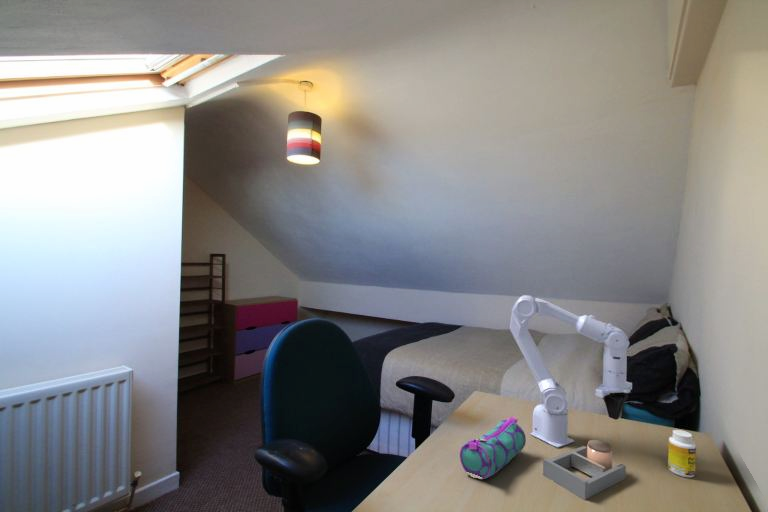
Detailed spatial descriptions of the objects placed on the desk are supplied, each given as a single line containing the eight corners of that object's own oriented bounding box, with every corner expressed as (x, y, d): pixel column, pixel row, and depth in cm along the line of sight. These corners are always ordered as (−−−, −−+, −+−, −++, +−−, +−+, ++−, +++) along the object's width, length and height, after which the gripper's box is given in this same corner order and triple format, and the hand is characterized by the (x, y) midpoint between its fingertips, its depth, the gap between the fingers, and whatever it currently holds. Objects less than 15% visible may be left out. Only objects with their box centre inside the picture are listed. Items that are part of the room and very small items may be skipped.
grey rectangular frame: (543, 474, 96) (543, 459, 96) (583, 457, 105) (583, 443, 105) (584, 499, 87) (585, 482, 87) (625, 478, 95) (625, 462, 95)
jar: (582, 468, 100) (582, 442, 100) (596, 463, 102) (596, 437, 102) (602, 479, 95) (602, 451, 95) (617, 474, 97) (617, 447, 97)
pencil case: (490, 489, 90) (491, 448, 90) (458, 473, 96) (459, 436, 96) (527, 456, 105) (527, 421, 105) (497, 444, 111) (498, 412, 111)
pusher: (570, 465, 100) (571, 452, 100) (573, 464, 100) (573, 451, 100) (602, 482, 92) (603, 468, 92) (605, 481, 93) (605, 467, 93)
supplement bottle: (690, 481, 95) (691, 440, 95) (664, 470, 99) (665, 431, 99) (698, 474, 98) (699, 434, 98) (673, 464, 102) (673, 426, 102)
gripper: (613, 378, 102) (612, 429, 102) (643, 370, 109) (642, 418, 109) (588, 370, 108) (587, 418, 108) (618, 364, 115) (617, 409, 115)
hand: (613, 417), depth 109 cm, fingers closed
